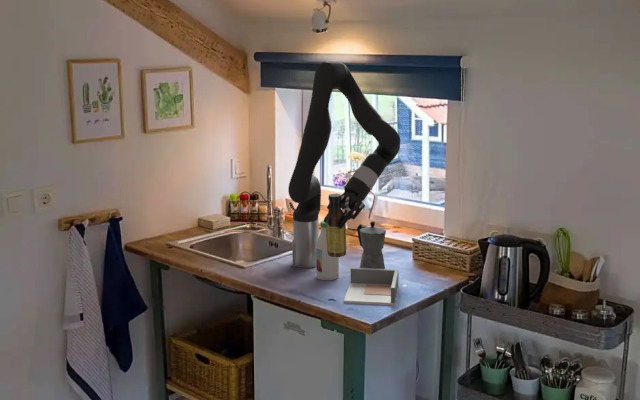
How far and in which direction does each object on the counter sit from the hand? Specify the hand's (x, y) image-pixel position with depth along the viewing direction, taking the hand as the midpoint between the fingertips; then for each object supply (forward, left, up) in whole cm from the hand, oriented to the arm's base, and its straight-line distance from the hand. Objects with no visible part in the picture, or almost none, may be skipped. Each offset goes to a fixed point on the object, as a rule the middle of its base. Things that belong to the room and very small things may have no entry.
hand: (332, 224), depth 230 cm
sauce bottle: (+1, +1, -11) cm, 11 cm away
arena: (+12, +5, -24) cm, 28 cm away
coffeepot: (+9, +30, -25) cm, 40 cm away
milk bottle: (-5, +20, -25) cm, 32 cm away
